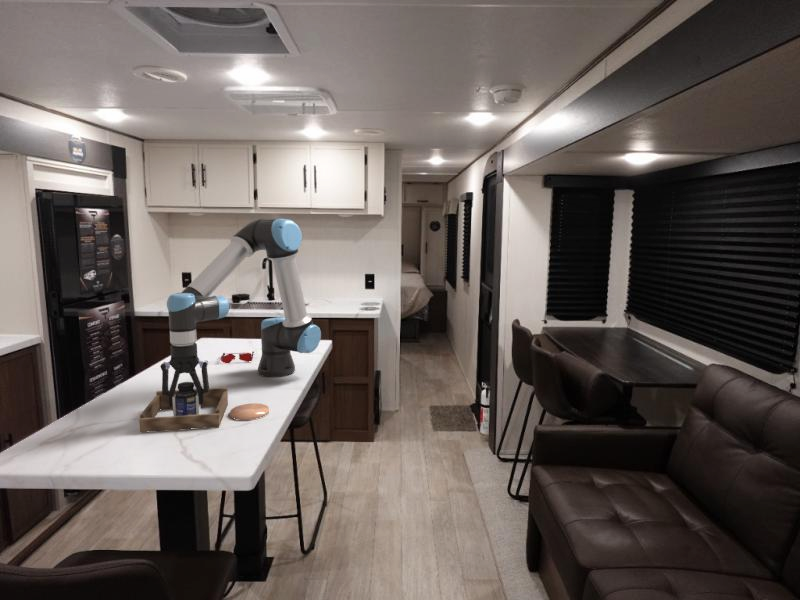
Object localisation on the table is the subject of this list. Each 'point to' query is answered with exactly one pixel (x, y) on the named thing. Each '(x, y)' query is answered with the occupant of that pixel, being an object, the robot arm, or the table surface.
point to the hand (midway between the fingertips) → (187, 414)
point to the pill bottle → (186, 399)
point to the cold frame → (187, 421)
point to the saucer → (249, 411)
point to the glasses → (230, 357)
